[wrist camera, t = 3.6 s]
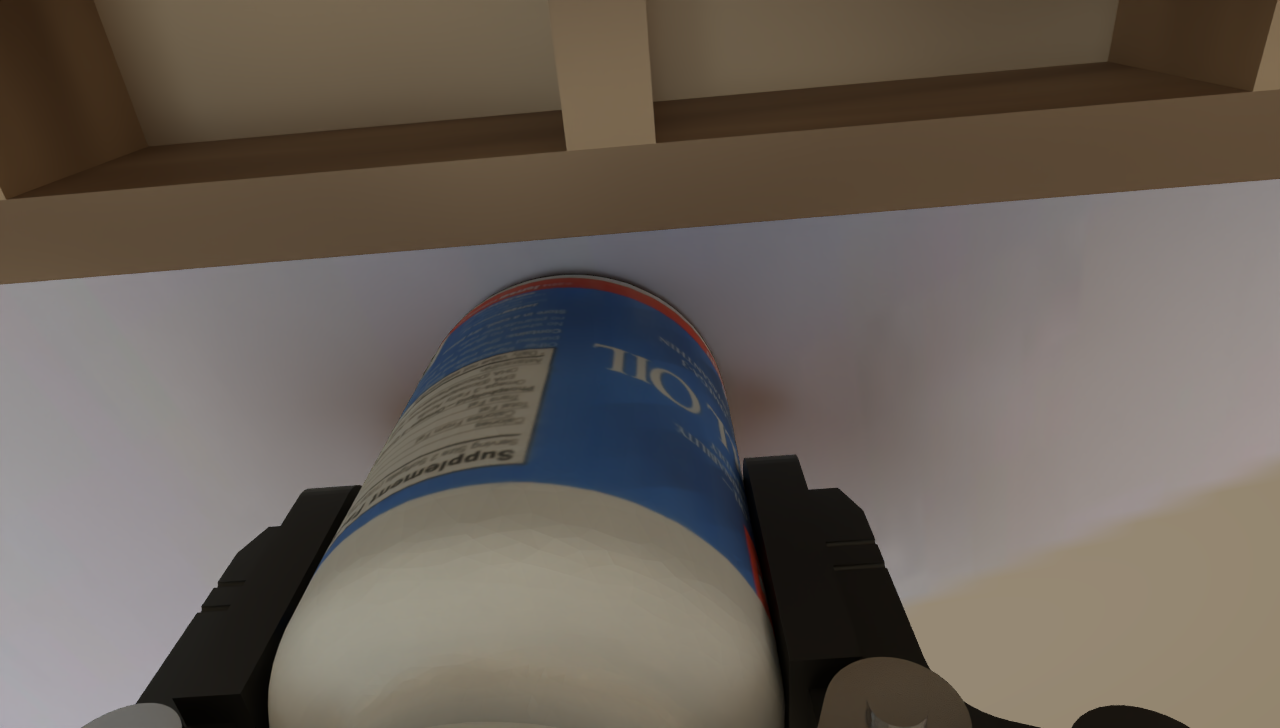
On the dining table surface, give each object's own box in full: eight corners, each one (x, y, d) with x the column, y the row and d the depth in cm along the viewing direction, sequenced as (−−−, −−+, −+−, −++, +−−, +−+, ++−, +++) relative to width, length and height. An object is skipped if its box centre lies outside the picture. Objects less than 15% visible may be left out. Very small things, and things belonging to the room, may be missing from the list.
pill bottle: (775, 445, 15) (974, 1140, 6) (540, 556, 16) (424, 1264, 7) (626, 201, 12) (603, 743, 4) (368, 353, 14) (-92, 1020, 5)
